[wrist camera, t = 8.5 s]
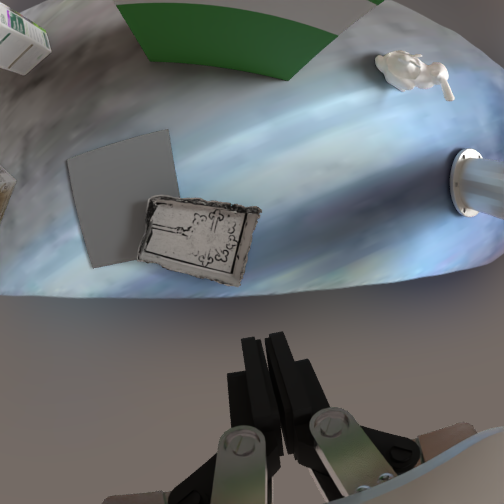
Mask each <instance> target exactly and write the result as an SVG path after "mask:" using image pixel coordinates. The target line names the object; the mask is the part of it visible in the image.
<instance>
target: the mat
mask: <svg viewBox="0 0 504 504" xmlns="http://www.w3.org/2000/svg"><path fill="white" fill-rule="evenodd" d="M67 163H68V169H69V175H70V181H71V186H72V191H73V196H74V201H75V205H76V210H77V214H78V218H79V222H80V226H81V230H82V234H83V237H84V241H85V244H86V248H87V251H88V254H89V258H90V261H91V264H92V267H93V268H98V267H103V266H107V265H112V264H117V263H122V262H127V261H132V260H137V255H138V248H139V245H140V242H141V239H142V237H143V235H144V234H145V231H146V229H145V228H146V224H145V212H146V208H147V204H148V199H149V198H151V197H153V196H156V195H169V196H172V197H176V198H180V194H179V189H178V183H177V178H176V172H175V167H174V161H173V155H172V149H171V143H170V136H169V130H168V129H165V130H161V131H157V132H153V133H149V134H145V135H141V136H137V137H134V138H130V139H127V140H123V141H120V142H116V143H113V144H110V145H107V146H104V147H101V148H98V149H95V150H92V151H89V152H86V153H83V154H80V155H77V156H75V157H72V158H69V159H67Z"/></svg>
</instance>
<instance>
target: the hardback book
mask: <svg viewBox="0 0 504 504" xmlns="http://www.w3.org/2000/svg"><path fill="white" fill-rule="evenodd" d="M113 1H114V3H115V5H116V6H117V8H118V9H119V11H120V13H121V14H122V16H123V18H124V19H125V21H126V23H127V24H128V26H129V28H130V29H131V31H132V33H133V34H134V36H135V37H136V39H137V41H138V42H139V44H140V46H141V47H142V49H143V51H144V52H145V54H146V56H147V57H148V59H149V61H153V62H174V63H187V64H197V65H206V66H214V67H221V68H228V69H234V70H240V71H245V72H251V73H256V74H261V75H265V76H270V77H274V78H278V79H282V80H286V81H289V80H290V79H291V78H292V77H293V76H294V75H295V74H296V73H297V72H298V71H299V70H300V69H301V68H303V67H304V66H305V65H306V64H307V63H308V62H309V61H310V60H311V59H312V58H314V57H315V56H316V55H317V54H318V53H319V52H320V51H321V50H323V49H324V48H325V47H326V46H327V45H328V44H329V43H331V42H332V41H333V40H334V39H335V38H337V37H338V36H339V35H340V34H341V33H343V32H344V31H345V30H346V29H348V28H349V27H350V26H351V25H353V24H354V23H355V22H356V21H358V20H359V19H360V18H361V17H363V16H364V15H365V14H367V13H368V12H369V11H371V10H372V9H373V8H375V7H376V6H377V5H379V4H380V3H382V2H383V1H384V0H113Z"/></svg>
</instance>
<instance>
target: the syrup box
mask: <svg viewBox="0 0 504 504" xmlns="http://www.w3.org/2000/svg"><path fill="white" fill-rule="evenodd" d="M51 52H52V51H51V48H50V44H49V41H48V37H47V34H46V31H45V30H44V29H43V28H41V27H40V26H38V25H37V24H35V23H33V22H32V21H30V20H29V19H27V18H26V17H24V16H23V15H21V14H19V13H18V12H16V11H14V10H12V9H11V8H9V7H8V6H6V5H4V4H3V3H1V2H0V68H2V69H5V70H9V71H12V72H15V73H18V74H21V75H26V74H27V73H28V72H30V71H31V70H32V69H33V68H34V67H35V66H36V65H37V64H39V63H40V62H41V61H42V60H43V59H44V58H45V57H47V56H48V55H49V54H50V53H51Z"/></svg>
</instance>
